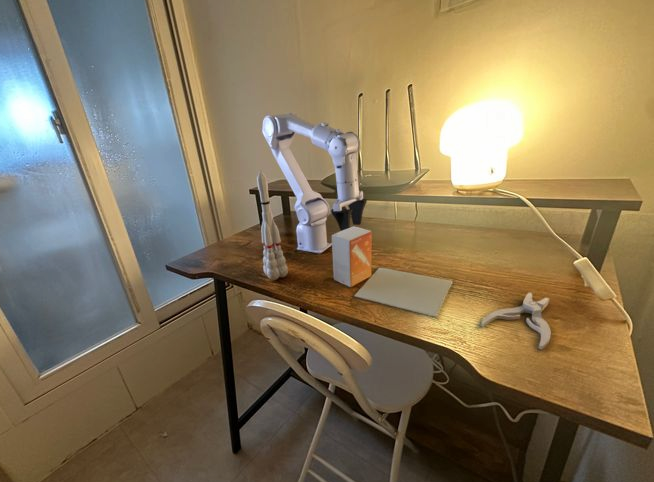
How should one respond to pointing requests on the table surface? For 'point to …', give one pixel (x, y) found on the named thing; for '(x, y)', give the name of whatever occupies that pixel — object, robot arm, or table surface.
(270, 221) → the rocket model
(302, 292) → the table surface
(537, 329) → the pliers
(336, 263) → the small box
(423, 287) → the mat
